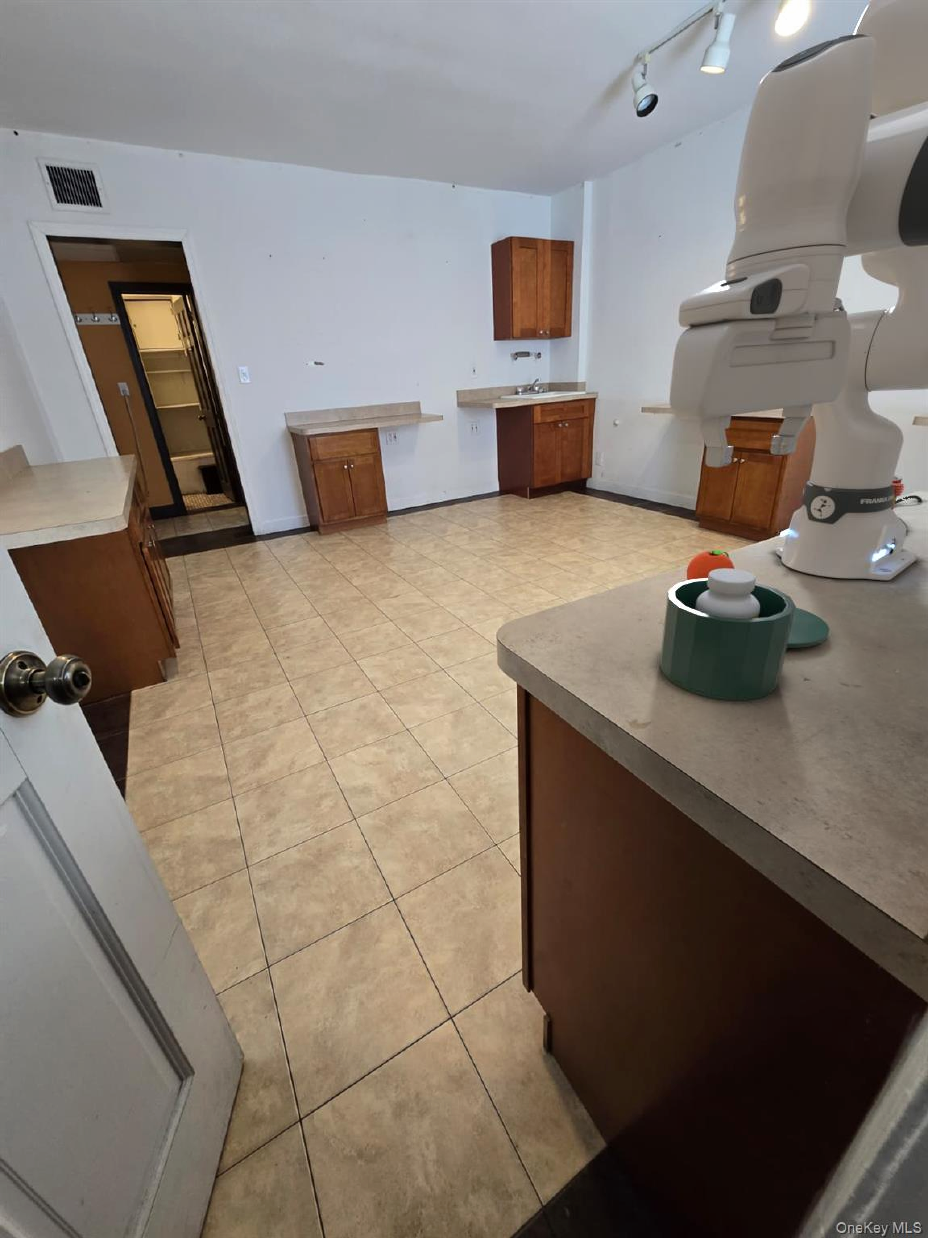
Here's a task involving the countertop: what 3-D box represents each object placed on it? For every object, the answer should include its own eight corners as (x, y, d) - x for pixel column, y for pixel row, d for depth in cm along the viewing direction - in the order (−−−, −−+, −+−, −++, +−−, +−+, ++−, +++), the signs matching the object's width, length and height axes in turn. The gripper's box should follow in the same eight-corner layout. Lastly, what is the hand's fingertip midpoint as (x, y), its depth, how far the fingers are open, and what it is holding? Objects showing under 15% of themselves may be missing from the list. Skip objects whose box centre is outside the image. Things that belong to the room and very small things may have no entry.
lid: (755, 601, 78) (761, 572, 76) (850, 634, 67) (859, 601, 65) (691, 622, 73) (695, 592, 71) (782, 662, 62) (790, 627, 60)
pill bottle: (755, 683, 57) (774, 586, 53) (693, 680, 59) (707, 585, 54) (739, 655, 63) (755, 565, 58) (683, 652, 65) (694, 565, 60)
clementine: (705, 581, 87) (711, 540, 84) (744, 592, 82) (752, 549, 79) (674, 593, 83) (679, 550, 80) (713, 605, 78) (720, 561, 75)
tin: (709, 637, 69) (719, 571, 65) (802, 679, 58) (821, 602, 54) (638, 663, 64) (644, 592, 60) (725, 713, 54) (740, 632, 50)
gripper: (815, 302, 52) (788, 445, 58) (664, 304, 44) (651, 469, 50) (885, 291, 47) (847, 449, 52) (729, 291, 39) (705, 477, 45)
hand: (750, 459), depth 51 cm, fingers open, 8 cm apart
